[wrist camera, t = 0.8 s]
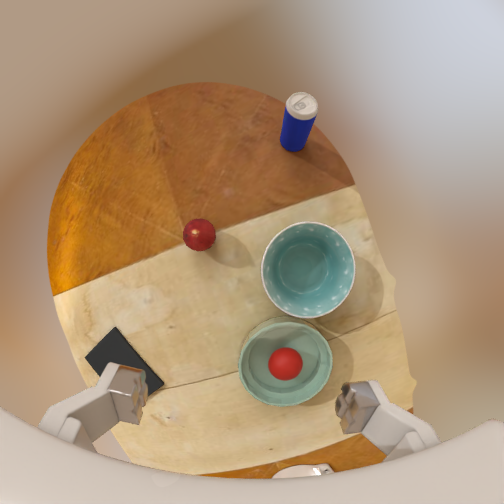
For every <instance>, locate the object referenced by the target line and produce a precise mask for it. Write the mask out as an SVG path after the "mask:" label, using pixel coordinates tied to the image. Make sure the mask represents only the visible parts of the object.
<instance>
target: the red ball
mask: <svg viewBox="0 0 504 504" xmlns="http://www.w3.org/2000/svg"><path fill="white" fill-rule="evenodd" d="M302 367H303V360H302V357H301V355H300V354H299V353H298V352H297V351H296V350H295V349H293V348H289V347H283V348H279V349H277V350H276V351H274V352H273V353H272V354H271V356H270V358H269V361H268V368H269V371H270V373H271V374H272V375H273V376H274V377H275V378H277V379H279V380H283V381H287V380H291V379H294V378H295V377H297V376H298V375H299V373H300V372H301V370H302Z"/></svg>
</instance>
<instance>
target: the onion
mask: <svg viewBox="0 0 504 504" xmlns="http://www.w3.org/2000/svg"><path fill="white" fill-rule="evenodd" d="M215 238H216V235H215V229H214V227H213V225H212V224H211V223H210V222H209V221H208V220H204V219H194V220H192V221H190V222H189V223H188V224H187V225H186V226H185V228H184V231H183V240H184V242H185V243H186V245H187V246H188V247H189V248H191V249H192V250H196V251H204V250H206V249H208V248H210V247H211V246H212V244H213V243H214V241H215Z"/></svg>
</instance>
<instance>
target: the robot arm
mask: <svg viewBox="0 0 504 504" xmlns="http://www.w3.org/2000/svg"><path fill="white" fill-rule="evenodd" d="M145 378H146V374H145V371H144V370H142V369H137V368H133V367H129V366H125V365H120V364H116V363H112V362H110V363H108V364H107V366H106V368H105V369H104V371H103V373H102V375H101V377H100V378H99V380H98V382H97V384H96V386H95V387H90V388H88V389H86V390H84V391H82V392H80V393H77V394H75V395H73V396H71V397H69V398H67V399H65V400H63V401H61V402H59V403H57V404H55V405H53V406H51V407H49V408H48V410H47V412H46V413H45V415H44V417H43V418H42V420H41V422H40V424H39V425H38V427H35V426H33V425H31V424H29V423H27V422H26V421H24V420H22V419H20V418H19V417H17V416H15V415H13V414H12V413H10V412H8V411H7V410H5V409H3V408H2V407H0V504H504V422H502V421H500V420H496V419H489V420H487V421H485V422H483V423H482V424H480V425H478V426H476V427H474V428H472V429H470V430H468V431H466V432H464V433H462V434H460V435H458V436H456V437H453V438H451V439H449V440H447V441H444V442H441V441H440V439H439V437H438V436H437V434H436V432H435V431H434V429H433V427H432V426H431V425H430V424H429V423H427V422H425V421H423V420H421V419H420V418H418V417H416V416H415V415H413V414H411V413H409V412H408V411H406V410H404V409H403V408H401V407H399V406H397V405H396V404H394V403H390V401H389V399H388V398H387V396H386V394H385V393H384V391H383V389H382V387H381V386H380V384H379V382H378V381H377V380H368V381H358V382H346V383H344V384H343V386H342V388H341V390H342V393H341V394H340V395H338V397H337V399H336V402H335V411H336V414H337V416H338V417H340V418H341V419H342V420H341V422H340V425H341V428H342V431H343V433H344V434H351V433H358V432H361V433H362V434H363V435H364V436H365V437H366V438H367V439H368V440H370V441H371V442H372V443H373V444H374V445H375V446H376V447H378V448H379V449H380V450H381V451H382V452H383V453H385V454H386V455H387V457H386V458H385V459H384V460H383V461H382V462H381V463H379V464H375V465H371V466H367V467H362V468H357V469H352V470H347V471H342V472H336V473H335V472H334V471H333V470H332V468H331V467H330V466H329V464H326V463H325V464H319V465H297V466H292V467H288V468H286V469H283V470H281V471H279V472H278V473H276V474H275V475H274V476H273V477H272V479H238V478H219V477H207V476H198V475H190V474H183V473H176V472H170V471H165V470H159V469H154V468H150V467H145V466H141V465H137V464H133V463H129V462H125V461H122V460H118V459H115V458H111V457H108V456H105V455H102V454H99V453H97V451H96V449H95V448H94V446H93V444H92V442H94V441H95V440H96V439H98V438H99V437H100V436H102V435H103V434H104V433H106V432H107V431H108V430H109V429H111V428H112V427H113V426H115V425H116V424H117V423H118V422H119V421H123V422H128V423H132V424H137V425H139V423H140V420H141V417H142V414H143V412H142V407H143V406H145V405H146V401H147V396H148V387H147V384H146V383H145V382H144V381H145ZM326 469H327V470H326Z"/></svg>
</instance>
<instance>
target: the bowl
mask: <svg viewBox="0 0 504 504" xmlns="http://www.w3.org/2000/svg"><path fill="white" fill-rule="evenodd" d="M355 272H356V267H355V259H354V255H353V252H352V249H351V247H350V245H349V244H348V242H347V241H346V239H345V238H344V237H343V236H342V235H341V234H340V233H339V232H338V231H337V230H335V229H334V228H332V227H330V226H328V225H326V224H323V223H319V222H299V223H296V224H293V225H290V226H288V227H286V228H285V229H283V230H282V231H280V232H279V233H278V234H277V235H276V236H275V237H274V238H273V239H272V240H271V242H270V243H269V245H268V246H267V248H266V250H265V253H264V255H263V259H262V264H261V278H262V283H263V286H264V289H265V291H266V293H267V295H268V297H269V298H270V300H271V301H272V302H273V303H274V304H275V305H276V306H277V307H278V308H279V309H280V310H282V311H283V312H285V313H287V314H289V315H291V316H294V317H298V318H316V317H321V316H324V315H326V314H328V313H330V312H332V311H333V310H335V309H336V308H337V307H339V306H340V305H341V304H342V303H343V302H344V300H345V299H346V298H347V296H348V295H349V293H350V291H351V289H352V286H353V284H354V279H355Z"/></svg>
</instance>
